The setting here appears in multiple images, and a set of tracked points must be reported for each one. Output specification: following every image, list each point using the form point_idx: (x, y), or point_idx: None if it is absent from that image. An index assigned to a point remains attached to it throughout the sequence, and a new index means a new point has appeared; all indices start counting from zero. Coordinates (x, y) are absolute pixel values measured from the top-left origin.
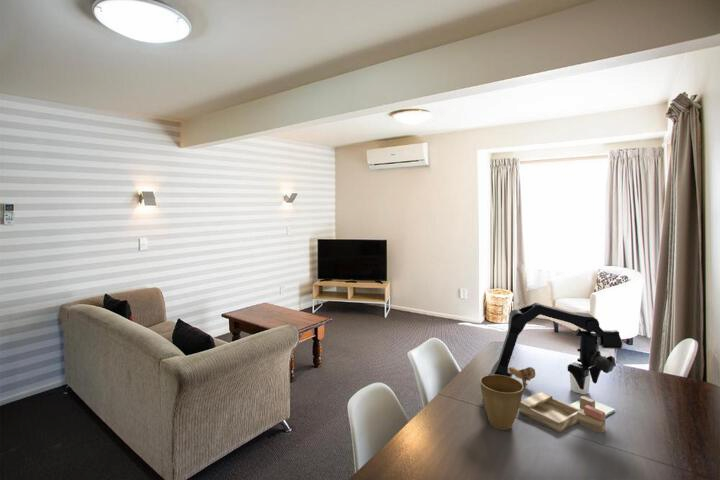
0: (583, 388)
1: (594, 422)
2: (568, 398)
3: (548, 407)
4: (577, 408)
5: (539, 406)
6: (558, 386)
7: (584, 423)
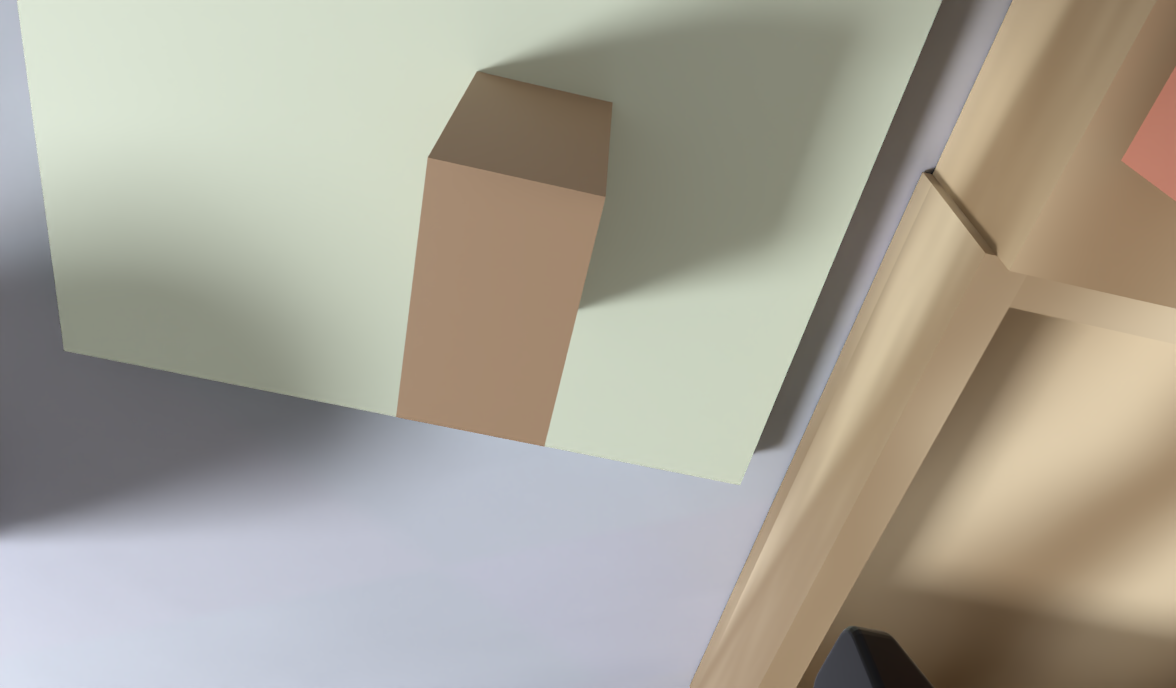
0: (889, 661)
1: None
2: (292, 499)
3: (861, 614)
4: (620, 335)
5: None
6: (49, 659)
7: None
